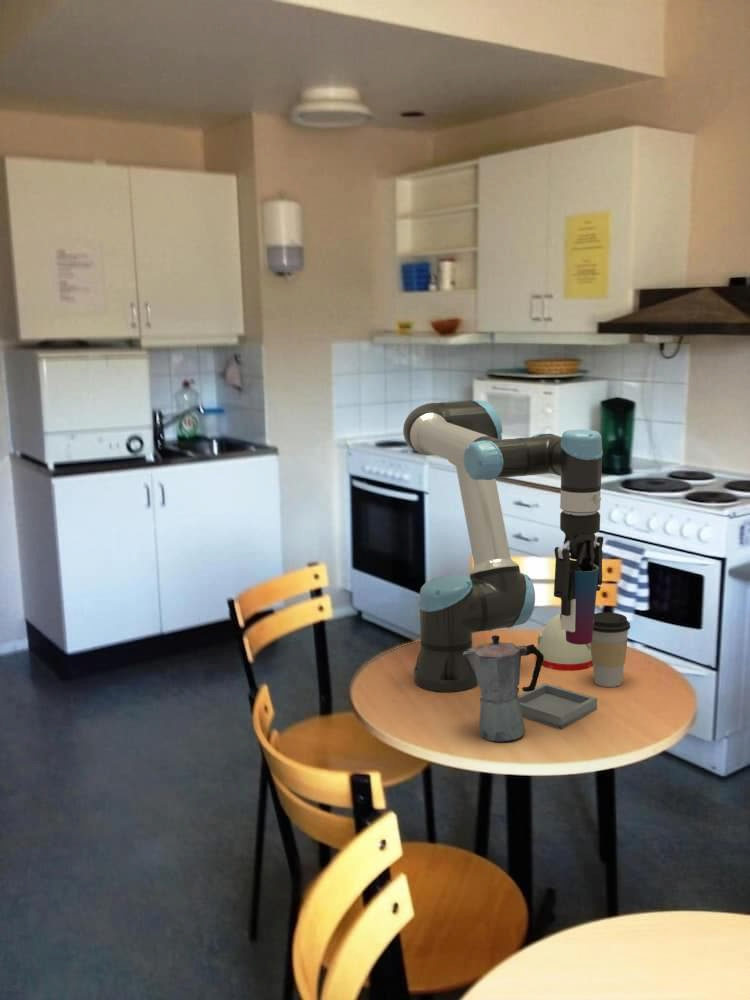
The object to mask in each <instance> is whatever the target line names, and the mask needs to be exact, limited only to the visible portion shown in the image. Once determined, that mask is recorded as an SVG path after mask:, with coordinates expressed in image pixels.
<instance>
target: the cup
mask: <svg viewBox="0 0 750 1000" xmlns="http://www.w3.org/2000/svg"><path fill="white" fill-rule="evenodd" d="M570 571H571V570H570ZM598 571H599V567H598V566H597V565H595V564H593V566H592V571H586V572H582V570H581V568H580V566H579V569H578V571H575V590H574V595H573V599H576V616H575V632H570V631H566V641H567V642H569V643H572V644H577V645H584V644H589V643H591V642H592V635H593V625H594V614H595V613H596V603H597V602H596V601H597V592H598V591H597V582H598ZM571 572H573V571H571Z"/></svg>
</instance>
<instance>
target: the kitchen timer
mask: <svg viewBox="0 0 750 1000" xmlns="http://www.w3.org/2000/svg"><path fill="white" fill-rule="evenodd" d="M536 648H537V650H539V651H540V653H542V654H543V656H544V661H543V663H542V666H541V667H544V668H547V669H551V670H556V671H562V672H563V671H565V672H566V671H567V672H574V671H583V670H587V669H589V668H593V662H592V656H591V646H590V643H589V644H584V645H577V644H572V643H569V642H567V641H566V630H562V629H561V612H560V613H558V614H556V615H554V616H553V617H552V618H551V619H550V620H549V621H548V622H547V623H546V625H545V626H544V627H542V629H541V630H540V633H538V638H537V645H536ZM535 656H536V655H535ZM535 658H536V659H535V661H536V660H537V656H536V657H535Z"/></svg>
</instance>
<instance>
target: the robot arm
mask: <svg viewBox="0 0 750 1000" xmlns="http://www.w3.org/2000/svg"><path fill="white" fill-rule="evenodd" d="M498 412H499V411H497V409H496V408H495V407H494V405H492V404H491V403H490V402H488V401H486V400H474V399H468V400H457V401H445V402H443V401H442V402H428V403H425V404H421V405H419V406H418V407H416V408H415V409H413V410H412V411H411V412H410V413H409V414H408V415H407V417H406V419H405V421H404V423H403V428H402V431H403V433H402V434H403V438H404V440H405V443H406V444H407V446H408V447H410V449H412V450H413V451H415V452H417V453H418V454H422V455H423V456H433V455H436V456H439V457H441V458H443V459H446V460H447V461H448V462H449V463H450V464H451V465H452V466H455V468H456V474H457V479H458V486H459V491H460V496H461V502H462V506H463V512H464V517H465V518H464V519H465V522H466V523H465V524H466V528H467V533H468V538H469V544H470V545H469V546H470V551H471V554H472V555H471V556H472V561H473V565H474V566H473V567H472V569H471V571H470V572H469V576H467V575H464V574H452V575H451V574H446V575H442V576H441V575H440V576H437V577H434V578H431V579H429V580H427V581H426V582H425V583H424V584H423V585H422V586H421V588H420V591H419V603H418V608H419V621H420V622H419V625H420V628H419V630H420V649H419V652H418V655H417V659H416V663H415V666H414V669H413V681H414V683H415V685H417V686H418V687H420V688H423V689H425V690H429V691H433V692H434V691H435V692H445V693H448V692H459V691H466V690H469V689H472V688H474V687H476V686H478V683H477V678H476V674H475V672H474V670H473V668H472V666H471V664H470V662H469V661H468V659H467V657H466V656H465V655H463V653H464V652H465V651H467V650H468V649H470V648H474V647H473V634H474V633H478V632H479V633H481V632H486V631H492V630H498V629H503V628H504V629H505V628H507V629H509V628H513V627H514V626H515V627H516V626H519V625H523V624H525V623H527V622H528V621H529V620H530V618H531V617H532V615H533V612H534V611H535V603H536V592H535V586H534V583H533V581H532V580H531V577H530V576H529V575H527V573H526V574H525V573H523V572H521V569H520V565H519V564H518V563H517V562H515V561H513V559H512V556H511V553H510V548H509V547H510V546H509V543H508V542H509V541H508V537H507V532H506V526H505V521H504V517H503V512H502V511H503V510H502V506H501V501H500V495H499V490H498V485H497V479H504V478H505V479H506V478H513V477H514V478H515V477H516V478H517V477H525V476H527V477H528V476H538V475H547V474H549V475H556V476H559V477H560V496H559V497H560V503H559V509H561V510H562V511H561V512H560V514H559V515H560V517H559V519H560V520H559V530H561V531H560V532H563V533H564V539H563V545H562V546H560V547H559V546H556V547H555V548H554V549H553V550H554V557H555V565H554V566H555V567H554V568H555V569H554V584H553V585H554V586H553V587H554V588H553V596H554V597H555V598H559V599H560V600H561V601H560V613H561V629H562V630H566V631H570V632H575V616H576V599H573V595H574V590H575V571H578V569H579V566H580V568H581V570H582V572H586V571H592V566H593V564H595V565H597V566H598V567H599V571H598V582H597V592H600V591H601V588H602V587H601V585H602V584H603V546H604V537H603V536H599V535H596V534H597V533H599V532H600V529H601V513H600V512H599V511H600V510H601V501H602V497H601V489H602V472H603V471H602V469H603V468H602V467H603V454H604V452H603V451H604V450H603V443H602V442H603V441H602V434H601V433H600V432H599V431H596V430H591V429H570V430H568V429H567V430H565V431H563V432H562V435H561V436H559V435H557V434H553V433H542V432H541V433H536V434H534V435H533V436H531V437H517V438H503V435H502V434H503V425H502V420H501V417H500V414H499V413H498ZM502 438H503V439H502ZM570 570H571V571H573V572H571V571H570Z"/></svg>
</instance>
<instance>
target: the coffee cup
mask: <svg viewBox="0 0 750 1000" xmlns="http://www.w3.org/2000/svg"><path fill="white" fill-rule="evenodd" d="M630 629H631V623H630V622H629V620H628V617H627V616H625V615H624V614H620V613H617V612H611V611H610V612H607V611H605V612H597V613H596V612H595V614H594V625H593V635H592V642H591V643H590V646H591V656H592V662H593V666H592V669H593V677H594V683H595V684H596V685H597V686H601V687H605V688H616V686H617V687H619V686H621V685H622V683H623V677H624V666H625V664H626V659H627V658H626V655H627V648H628V634H629V630H630Z"/></svg>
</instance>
